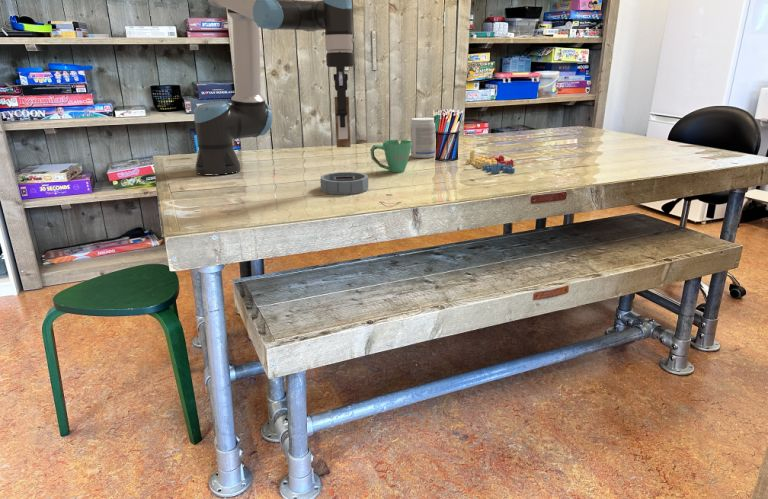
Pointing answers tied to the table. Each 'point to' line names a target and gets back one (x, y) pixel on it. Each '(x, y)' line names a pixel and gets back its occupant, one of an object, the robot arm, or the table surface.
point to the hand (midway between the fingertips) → (343, 138)
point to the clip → (344, 178)
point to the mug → (394, 154)
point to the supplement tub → (422, 137)
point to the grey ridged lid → (344, 183)
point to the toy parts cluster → (492, 163)
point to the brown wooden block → (347, 141)
